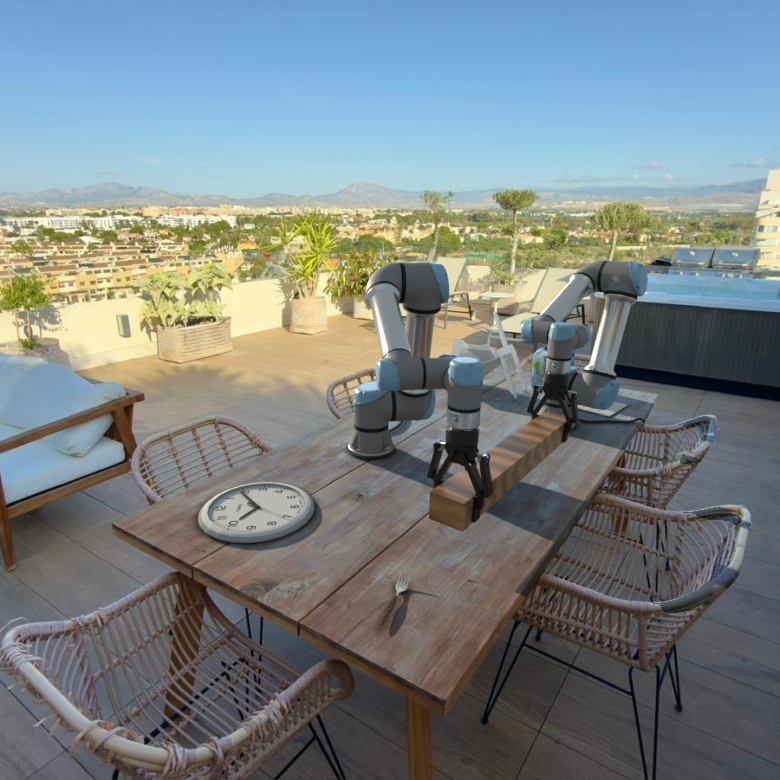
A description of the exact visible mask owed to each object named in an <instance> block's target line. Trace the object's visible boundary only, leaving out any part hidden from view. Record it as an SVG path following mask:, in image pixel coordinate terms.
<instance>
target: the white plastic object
mask: <svg viewBox="0 0 780 780" xmlns="http://www.w3.org/2000/svg"><path fill="white" fill-rule="evenodd" d="M492 315H493V319H494V321H495V324H496V325H495V326H496V328H497V332H498V335H499V338H500V342H501V345H502V347H500V348H498V349H496V350H495V349H493V348H492V347H491V346H490V344H489V343H488V342H487V343H483V344H479V345H473V346H469V345H468V343H466V342H465V340H464V339H463V338H460V339H458V338H454V340H453V344H452V349H451V353H450V354H452V355H455V356H456V357H471V358H475V359H479V360H480V361H481V362H482V363H483V374H484V378H485V377H486V376H487V375H489V374H490V373H492V372H494V371H495V370H496V369H497V368H499V367H500V366H502V370H503V373H504V376H505V380H506V383H507V386H508V390H509V393H510V394H511V395H512V397H513V398H514V399H515V400H517V392H516V391H517V390H516V388H515V385H514V381H513V378H512V375H511V371H510V369H509V365H508V361H510V360H513V363H514V366H515V369H516V372H517V376H518V380H519V382H520V385H521V389H522V391H523V393H524V395H525V396H526V397H528V396H531V395H530V390H529V388H528V387H529V386H528V384H527V381H526V378H525V375H524V371H523V369H522V368H523V367H522V366H521V362H520V359H519V355H518V352H517V349H516V347H515V346H514V345H513V343H511V344H508V341H507V337H506V334H505V331H504V328H503V325H502V321H501V318H500V315H499V314H498V312H497V311H496V310H495V311H492Z"/></svg>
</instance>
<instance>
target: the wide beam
mask: <svg viewBox="0 0 780 780" xmlns="http://www.w3.org/2000/svg"><path fill="white" fill-rule="evenodd" d="M565 422H567V421H566V418H565V416H563V415H558V414H554V413H549V412H543V413H542V414H540V415H539V416H537V417H536V418H535V419H533V420H532V419H531V420H530V421H528V422H527V423H525V424H524V425H523V426H522V427H520V428H518V429H517V430H516V431H514V432H513V433H512V434H510V435H509V436H507V437H506V438H504V439H503V440H501V441H499V443H497V444H496V445H495V446H493V447H491V448H490V449H488V450H487V451H486V452H484V453H483V454H487V453H488V454H490V461H489V466H490V472H491V479H492V486H493V494H492V495H491V496H490V497H488V498H485V502H484V507H483V508H482V509H481V510H480V517H481V516H482V515H484V514H485V513H486V512H487V511H488V510H489V509H490V508H491V507H493V506H494V505H495V504H496V503H497V502H498V501H499V500H501V498H502V497H504V496H505V495H506V494H507V493H508V492H509V491H511V489H513V488H514V487H515V486H516V485H517V484H519V483H520V482H521V481H522V480H523V479H524V478H525V477H526V476H528V475H529V474H530V473H531V472H532V471H533V470H534V469H535V468H536V467H538V466H539V465H540V464H541V463H542V462H543V461H545V459H546V458H549V456H550V455H551V454H552V453H554V452H555V451H556V450H557V449H558V448H559V447H561V445H562V444H563V442H562V439H563V431H564V423H565ZM569 438H570V433H568V438H567V440H568V439H569ZM475 460H476V463H477V469H478V472H479V474H480V477H481V473H480V463H478V458H477V457H476V458H475ZM470 464H471V463H470ZM470 464H469V465H470ZM443 481H444V482H443V483H442V484H440V485H439V486H437V487H436V488H434V487H433V489H431V490H430V491H429V504H428V506H429V507H428V519H429V520H431V521H433V522H435V523H439V524H441V525H444V526H446V527H449V528H452V529H454V530H456V531H459V532H461V533H462V532H464V531H466V530H467V529H468V528H469V527H470V526H472V524H474V523H473V522H472V509H473V497H474V496H475V495H476V493H475V490H474V488H473V485H472V482H471V480H470V477H469V474H468V472H467V471H466V470H465V467H464V466H463V467H462V469H460V470H459V471H457V472H456V473H455V474H453V475H452V476H450V477H449V478H447V479H445V480H443Z"/></svg>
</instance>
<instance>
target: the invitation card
mask: <svg viewBox="0 0 780 780" xmlns="http://www.w3.org/2000/svg"><path fill="white" fill-rule="evenodd" d="M577 406H578V410H581V411H584V412H587V413H593V414H596V415H600V416H604V417H608V418H609V417H611V416H613V415H614V414H616V413H617V412H619V411H621V410H623V409H624V408H626V407H628V406H629V404H627V403H623V402H618V401H614V403H613V404H612V405H611V406H610V407H609V408H608V409H606V410H599V409H593V408H590V407H586V406H582V405H578V404H577Z"/></svg>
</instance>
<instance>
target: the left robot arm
mask: <svg viewBox="0 0 780 780" xmlns="http://www.w3.org/2000/svg"><path fill="white" fill-rule="evenodd" d="M364 291H365V292H364V294H365V297H364V298H365V302H366V305H367V307H368V308H369V309H370V310H371V314H372V319H373V323H374V328H375V333H376V338H377V344H378V349H379V354H380V358H381V359H378V360H377V361H376V362H375V381H374V380H373V381H368V382H364V383H362V384H359V385H357V387H355V389H354V392H353V399H352V402H353V403H352V404H353V430H352V432H351V436H350V439H349V442H348V453H349V454H350V455H352V456H353V457H356V458H359V459H365V460H377V459H383V458H386V457H389V456H390V455H392V454H393V452H394V442H393V439H392V436H391V433H392V432H393V431H395V430H397V429H399V428H400V427H401V426H402V425H403V423H404V422H407V421H408V422H409V421H415V422H419V421H423V420H424V421H425V420H428V419H430V418H431V417H432V416H433V414H434V411H435V408H436V395H437V394H436V390H446V391H447V404H446V426H445V439H444V440H445V442H444V441H443V440H442V439H439V440H437V441H436V442H434V443H433V445H432V446H433V447H432V448H433V453H432V457H431V461H430V463H429V467H428V471H427V473H426V478H427V479H428V480H429V479H431V480H432V482H433V489H434V488H436V487H437V486H439V485H440V484H442V483H443V482H444V481H445V480H444V477H445V476H446V474H447V472H448V471H449V469H450V468H451V466H452V465H453V464H457V465H460V466H462V467H463V468H464V467H465V470H466V471H467V472H468V474H469V477H470V480H471V482H472V485H473V488H474V490H475V493H476V495H475V496H474V497H473V509H472V522H473V523H472V524H475V523H476V522H477V521H478V520H480V519H481V516H480V510H481V509H482V508H483V507H484V502H485V498H488V497H490V496H491V495H492V494H493V486H492V479H491V472H490V466H489V461H490V454H488V453H487V454H484V453H483V452H480V450H479V447H478V445H479V440H480V439H479V437H480V428H479V427H480V425H481V409H482V398H483V397H482V395H483V386H484V385H483V384H484V378H485V377H484V374H483V363H482V362H481V361H480V360H479V359H475V358H471V357H456V356H455V355H452V354H451V353H443V354H441V355H439V356H437V357H431V354H432V353H431V352H432V346H433V345H432V344H433V335H434V326H435V318H436V315H437V314H438V313H440V311H442V305H444V304H446V303H448V302H449V299H450V280H449V276H448V272H447V268H446V267H445V266H444V265H443V264H442V263H439V262H430V261H427V262H389V263H386V264H384V265H382V266H380V267H379V268H378V269H376V270H375V271H373V273H372V274H371V276H370V277H369V279H368V281H367V283H366V286H365V290H364ZM400 304H402V305H401V306H402V309H403V310H404V311H405V312H406V319H405V322H404V319H403V316H402V310H401V306H400ZM389 422H390V423H391V422H399V423H398V424H397V425H396V426H393V427H392V428H390V429H389ZM444 451H445V452H446V454H447V456H446V458H445V459H444V460H443V463H442V465H441V467H440V463H441V459H442V456H443V452H444ZM477 458H478V463H480V473H481V477H480V474H479V472H478V469H477V463H476V459H477ZM470 463H471V464H470ZM469 464H470V465H469ZM439 467H440V468H439Z"/></svg>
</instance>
